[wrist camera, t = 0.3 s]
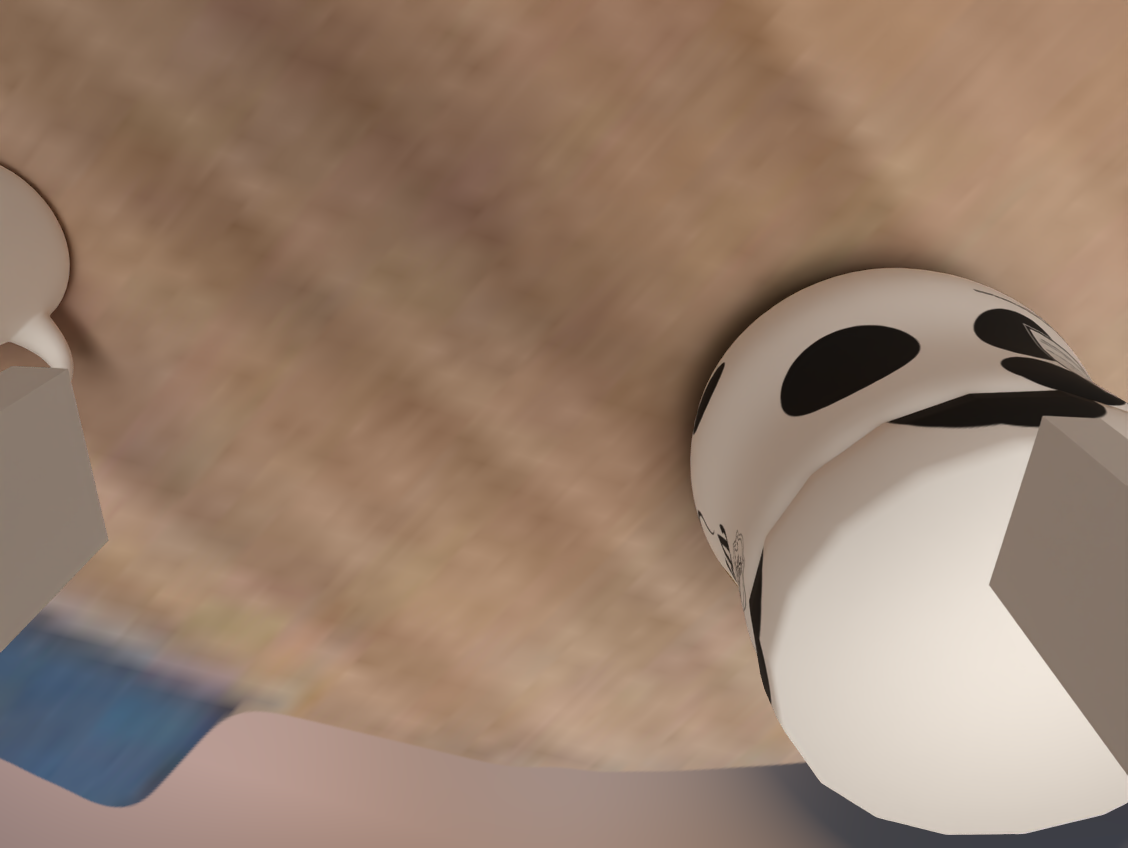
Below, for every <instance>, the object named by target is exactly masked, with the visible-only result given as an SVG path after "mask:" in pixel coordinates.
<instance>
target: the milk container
mask: <svg viewBox="0 0 1128 848" xmlns="http://www.w3.org/2000/svg"><path fill="white" fill-rule="evenodd" d="M1043 416H1058V417H1079V418H1099V419H1102V420H1103V421H1104V422H1106V423H1107V424H1108V425H1110V426H1111V427H1112V428H1114V429H1115V430H1116V431H1118V432H1119V433H1120V434H1122V435H1123V436H1124V437H1126V438H1127V439H1128V403H1126V402H1125V401H1123V400H1122V399H1120V398H1118V397H1117V396H1115V395H1113V394H1112V393H1110V392H1109V391H1107V390H1105V389H1103V388H1102V387H1100V386H1098V385H1097V384H1095V383H1093V382H1092V380H1091V378H1090V377H1089V375H1088V373H1087V371H1086V370H1085V368H1084V367H1083V365H1082V364H1081V362H1080V360H1079V359H1078V358H1077V356H1076V355H1075V353H1074V352H1073V350H1072V349H1071V348H1070V347H1069V345H1068V344H1067V343H1066V342H1065V340H1064V339H1063V338H1062V337H1061V336H1060V335H1059V334H1058V333H1057V332H1056V331H1055V330H1054V329H1053V328H1052V327H1051V326H1050V325H1049V324H1047V323H1046V322H1045V321H1044V320H1043V319H1042V318H1040V317H1039V316H1038V315H1037V314H1035V313H1034V312H1033V311H1032V310H1030V309H1029V308H1027V307H1026V306H1024V305H1022V304H1021V303H1019V302H1018V301H1016V300H1014V299H1013V298H1011V297H1009V296H1007V295H1005V294H1003V293H1001V292H999V291H997V290H995V289H993V288H991V287H988V286H986V285H983V284H980V283H978V282H975V281H972V280H969V279H966V278H962V277H958V276H955V275H951V274H946V273H941V272H935V271H929V270H921V269H909V268H880V269H869V270H863V271H857V272H851V273H848V274H844V275H840V276H836V277H833V278H830V279H827V280H824V281H821V282H818V283H816V284H814V285H811V286H809V287H807V288H804V289H802V290H800V291H799V292H797V293H795V294H793V295H791V296H789V297H787V298H786V299H784V300H783V301H781V302H779V303H778V304H776V305H775V306H773V307H772V308H771V309H769V310H768V311H767V312H765V313H764V314H763V315H761V316H760V317H759V318H758V319H757V320H755V321H754V322H753V323H752V324H751V325H750V326H749V327H748V328H747V329H746V330H745V331H744V332H743V333H742V334H741V335H740V336H739V337H738V338H737V339H736V340H735V341H734V343H733V344H732V345H731V346H730V348H729V349H728V350H727V351H726V353H725V354H724V356H723V357H722V358H721V360H720V361H719V363H718V364H717V366H716V368H715V370H714V371H713V373H712V375H711V377H710V379H709V381H708V383H707V385H706V387H705V390H704V392H703V395H702V398H701V401H700V404H699V407H698V411H697V415H696V419H695V423H694V429H693V436H692V442H691V456H690V467H691V484H692V491H693V497H694V502H695V506H696V510H697V514H698V517H699V520H700V523H701V526H702V529H703V531H704V533H705V536H706V538H707V540H708V542H709V544H710V546H711V549H712V550H713V552H714V554H715V555H716V557H717V559H718V560H719V562H720V563H721V565H722V566H723V568H724V569H725V570H726V572H727V573H728V574H729V576H730V577H731V578H732V580H733V581H734V582H735V583H736V585H737V586H738V587H739V592H740V597H741V602H742V607H743V611H744V615H745V620H746V624H747V628H748V632H749V635H750V638H751V641H752V644H753V647H754V649H755V651H756V653H757V656H758V662H759V668H760V674H761V678H762V682H763V685H764V689H765V691H766V694H767V696H768V698H769V701H770V703H771V705H772V708H773V710H774V712H775V715H776V717H777V719H778V721H779V722H780V724H781V726H782V728H783V729H784V731H785V733H786V734H787V736H788V737H789V738H790V740H791V741H792V743H793V744H794V745H795V747H796V748H797V750H798V751H799V752H800V754H801V755H802V757H803V758H804V759H805V761H806V762H807V764H808V765H809V766H810V768H811V769H812V771H813V772H814V773H815V775H816V776H817V778H818V779H819V780H820V782H821V783H822V784H824V785H826V786H827V787H829V788H830V789H832V790H834V791H835V792H837V793H839V794H840V795H842V796H843V797H845V798H846V799H848V800H850V801H851V802H853V803H855V804H856V805H858V806H859V807H861V808H863V809H864V810H866V811H867V812H869V813H871V814H872V815H874V816H876V817H878V818H882V819H886V820H890V821H894V822H898V823H902V824H906V825H910V826H914V827H918V828H922V829H926V830H930V831H934V832H938V833H942V834H947V835H953V834H1025V833H1029V832H1033V831H1037V830H1042V829H1046V828H1050V827H1053V826H1058V825H1062V824H1066V823H1070V822H1074V821H1079V820H1083V819H1087V818H1091V817H1095V816H1100V815H1103V814H1106V813H1107V812H1110V811H1112V810H1113V809H1116V808H1118V807H1120V806H1122V805H1124V804H1126V803H1127V802H1128V775H1127V774H1126V773H1125V771H1124V770H1123V768H1122V767H1121V766H1120V764H1119V763H1118V762H1117V760H1116V759H1115V757H1114V756H1113V755H1112V753H1111V752H1110V751H1109V749H1108V748H1107V746H1106V745H1105V744H1104V742H1103V741H1102V740H1101V738H1100V737H1099V735H1098V734H1097V733H1096V731H1095V730H1094V729H1093V727H1092V726H1091V725H1090V723H1089V722H1088V720H1087V719H1086V718H1085V716H1084V715H1083V714H1082V712H1081V711H1080V709H1079V708H1078V707H1077V705H1076V704H1075V703H1074V701H1073V700H1072V698H1071V697H1070V696H1069V694H1068V693H1067V692H1066V690H1065V689H1064V687H1063V686H1062V685H1061V683H1060V682H1059V681H1058V679H1057V678H1056V676H1055V675H1054V674H1053V672H1052V671H1051V670H1050V668H1049V667H1048V665H1047V664H1046V663H1045V661H1044V660H1043V659H1042V657H1041V656H1040V654H1039V653H1038V652H1037V650H1036V649H1035V648H1034V646H1033V645H1032V643H1031V642H1030V641H1029V639H1028V638H1027V637H1026V635H1025V634H1024V632H1023V631H1022V630H1021V628H1020V627H1019V626H1018V624H1017V623H1016V621H1015V620H1014V619H1013V617H1012V616H1011V615H1010V613H1009V612H1008V610H1007V609H1006V608H1005V606H1004V605H1003V604H1002V602H1001V601H1000V600H999V598H998V597H997V595H996V594H995V593H994V591H993V590H992V589H991V587H990V586H989V583H990V580H991V577H992V573H993V570H994V567H995V564H996V561H997V558H998V555H999V551H1000V548H1001V545H1002V542H1003V539H1004V536H1005V533H1006V530H1007V526H1008V523H1009V520H1010V517H1011V514H1012V511H1013V508H1014V504H1015V501H1016V498H1017V495H1018V492H1019V489H1020V486H1021V482H1022V479H1023V476H1024V473H1025V470H1026V467H1027V464H1028V461H1029V457H1030V454H1031V451H1032V448H1033V445H1034V442H1035V439H1036V435H1037V432H1038V429H1039V426H1040V423H1041V420H1042V417H1043Z"/></svg>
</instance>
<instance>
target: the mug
mask: <svg viewBox="0 0 1128 848" xmlns="http://www.w3.org/2000/svg"><path fill="white" fill-rule="evenodd" d="M69 270H70V261H69V252H68V247H67V242H66V239H65V236H64V233H63V231H62V229H61V226H60V224H59V222H58V220H57V219H56V217H55V215H54V214H53V212H52V210H51V209H50V207H49V206H48V205H47V203H46V202H45V201H44V199H43V198H42V197H41V196H40V195H39V194H38V193H37V192H36V191H35V190H34V189H33V188H32V187H31V186H30V185H29V184H28V183H27V182H25V181H24V180H23V179H22V178H20V177H19V176H17V175H16V174H15V173H13V172H11V171H10V170H8V169H6V168H5V167H3V166H1V165H0V345H2V344H4V343H6V342H12V343H15V344H17V345H20V346H22V347H24V348H26V349H28V350H30V351H31V352H33V353H35V354H36V355H38V356H39V357H41V358H42V359H43V360H44V361H46V362H47V364H48V365H49V366H50V367H51V368H64V369H68V371H69V375H70V379H71V380H72V376H73V359H72V354H71V351H70V348H69V346H68V343H67V342H66V340H65V338H64V336H63V334H62V333H61V331H60V330H59V328H58V327H57V325H56V324H55V323H54V321H53V320H52V318H51V317H50V315H51V314H52V312H53V311H54V310H55V309H56V308H57V307H58V305H59V303H60V302H61V300H62V298H63V296H64V293H65V291H66V288H67V284H68V280H69Z"/></svg>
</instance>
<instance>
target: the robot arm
mask: <svg viewBox="0 0 1128 848" xmlns="http://www.w3.org/2000/svg"><path fill="white" fill-rule="evenodd" d="M107 541H108V536H107V532H106V528H105V523H104V519H103V515H102V511H101V506H100V502H99V498H98V494H97V490H96V485H95V481H94V477H93V473H92V468H91V464H90V460H89V456H88V451H87V447H86V443H85V439H84V434H83V430H82V426H81V422H80V417H79V413H78V409H77V405H76V400H75V396H74V392H73V388H72V383H71V379H70V375H69V371H68V369H64V368H44V367H23V366H11V367H9V368H7V369H6V370H4V371H2V372H0V652H1V651H2V650H3V649H4V648H5V647H6V646H7V645H8V644H9V643H10V642H11V641H12V640H13V639H14V638H15V637H16V636H17V635H18V634H19V633H20V632H21V631H22V630H23V629H24V627H25V626H26V625H27V624H28V623H29V622H30V621H31V620H32V619H33V618H34V617H35V616H36V615H37V614H38V613H39V612H40V611H41V610H42V609H43V608H44V607H45V606H46V605H47V604H48V603H49V602H50V601H51V599H52V598H53V597H54V596H55V595H56V594H57V593H58V592H59V591H60V590H61V589H62V588H63V587H64V586H65V585H66V584H67V583H68V582H69V581H70V580H71V579H72V578H73V577H74V576H75V575H76V574H77V572H78V571H79V570H80V569H81V568H82V567H83V566H84V565H85V564H86V563H87V562H88V561H89V560H90V559H91V558H92V557H93V556H94V555H95V554H96V553H97V552H98V551H99V550H100V549H101V548H102V547H103V546H104V544H105V543H106V542H107ZM989 586H990V587H991V589H992V590H993V591H994V593H995V594H996V595H997V597H998V598H999V600H1000V601H1001V602H1002V604H1003V605H1004V606H1005V608H1006V609H1007V610H1008V612H1009V613H1010V615H1011V616H1012V617H1013V619H1014V620H1015V621H1016V623H1017V624H1018V626H1019V627H1020V628H1021V630H1022V631H1023V632H1024V634H1025V635H1026V637H1027V638H1028V639H1029V641H1030V642H1031V643H1032V645H1033V646H1034V648H1035V649H1036V650H1037V652H1038V653H1039V654H1040V656H1041V657H1042V659H1043V660H1044V661H1045V663H1046V664H1047V665H1048V667H1049V668H1050V670H1051V671H1052V672H1053V674H1054V675H1055V676H1056V678H1057V679H1058V681H1059V682H1060V683H1061V685H1062V686H1063V687H1064V689H1065V690H1066V692H1067V693H1068V694H1069V696H1070V697H1071V698H1072V700H1073V701H1074V703H1075V704H1076V705H1077V707H1078V708H1079V709H1080V711H1081V712H1082V714H1083V715H1084V716H1085V718H1086V719H1087V720H1088V722H1089V723H1090V725H1091V726H1092V727H1093V729H1094V730H1095V731H1096V733H1097V734H1098V735H1099V737H1100V738H1101V740H1102V741H1103V742H1104V744H1105V745H1106V746H1107V748H1108V749H1109V751H1110V752H1111V753H1112V755H1113V756H1114V757H1115V759H1116V760H1117V762H1118V763H1119V764H1120V766H1121V767H1122V768H1123V770H1124V771H1125V773H1126V774H1127V775H1128V439H1127V438H1126V437H1124V436H1123V435H1122V434H1120V433H1119V432H1118V431H1116V430H1115V429H1114V428H1112V427H1111V426H1110V425H1108V424H1107V423H1106V422H1104V421H1103V420H1102V419H1099V418H1079V417H1058V416H1043V417H1042V420H1041V423H1040V426H1039V429H1038V432H1037V435H1036V439H1035V442H1034V445H1033V448H1032V451H1031V454H1030V457H1029V461H1028V464H1027V467H1026V470H1025V473H1024V476H1023V479H1022V482H1021V486H1020V489H1019V492H1018V495H1017V498H1016V501H1015V504H1014V508H1013V511H1012V514H1011V517H1010V520H1009V523H1008V526H1007V530H1006V533H1005V536H1004V539H1003V542H1002V545H1001V548H1000V551H999V555H998V558H997V561H996V564H995V567H994V570H993V573H992V577H991V580H990V583H989Z"/></svg>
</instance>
